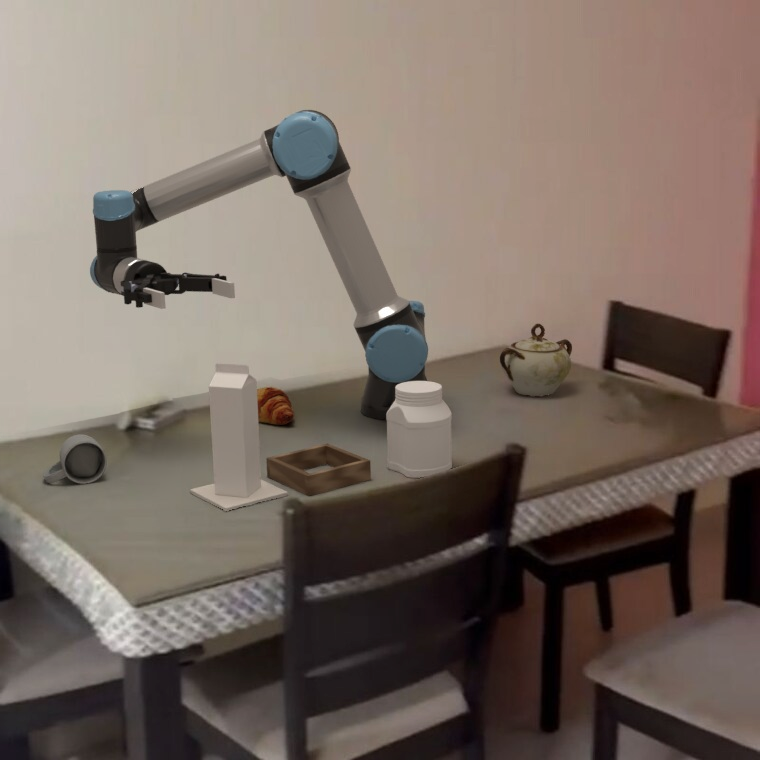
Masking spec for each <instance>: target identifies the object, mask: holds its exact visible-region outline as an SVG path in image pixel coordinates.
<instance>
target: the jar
mask: <svg viewBox="0 0 760 760" xmlns="http://www.w3.org/2000/svg"><path fill="white" fill-rule="evenodd" d="M395 394H396V395H395V397H396V398H395V401H394V402H393V404H392V405H391V407H390V408H389V410H388V411H387V413H386V438H387V440H386V443H387V451H386V452H387V460H386V464H387V465H386V468H387V470H390V471H394V472H398V473H400V474H402V475H403V476H405V477H406V478H409V479H421V478H420V477H424V476H429V475H432V474H435V473H439V472H442V471H445V470H448V469H450V468H453V460H452V419H453V413H452V410H451V409H450V408H449V405H448V404H447V403H446V402H445V401H444V400H443V386H442V384H441V383H438V382H434V381H428V380H427V381H409V382H404V383H400V384H398V385H396V387H395Z"/></svg>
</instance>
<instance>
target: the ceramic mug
mask: <svg viewBox="0 0 760 760" xmlns="http://www.w3.org/2000/svg"><path fill="white" fill-rule="evenodd" d="M107 459H108V458H107V454H106V452H105V449H104V448H103V446H101V444H99V442H98V441H97V439H95V438H94V437H92V436H89V435H87V434H74V435H72V436H70V437H68V438H67V439H65V441H64V442H63V443H62V445H61V446H60V450H59V461H57V462H55V463H54V464H52V465H50V466H49V467H48V468H46V470H45V471H44V472H43V474H42V475H43V478H44V480H45V482H46V483H47V484H53V483H57V482H58V481H61V480H62V479H65V478H68V480H70V481H71V482H73V483H76V484H81V485H86V483H88V484H91V483H94V482H96V481H97V480H99V479H100V478H101V477H102V476H103V475H104V473H105V471H106V469H107V465H108V460H107Z"/></svg>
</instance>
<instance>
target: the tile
mask: <svg viewBox="0 0 760 760" xmlns="http://www.w3.org/2000/svg"><path fill="white" fill-rule="evenodd" d="M189 493H190V494H191V495H193V496H195V497H197V498H199V499H201V500H203V501H205V502H207V503H209V502H210V503H211V505H212V504H213V506H214V505H215V507H216V506H217V507H216V508H218V507H219V508H218V509H220V508H221V509H220V510H222V509H223V510H222V511H224V512H226V511H227V512H230V511H229V510H231V511H233V510H232V509H235V508H238V507H242V506H245V505H248V504H254V503H257V502H261V503H263V502H262V501H265V502H267V501H266V500H269V501H271V499H273V500H276V498H277V499H280V498H284V497H287V496H289V492H288V491H286V490H285V489H282V488H280V487H278V486H276V485H273V484H271V483H270V482H268V481H265V480H263V479H261V487H260V488H259V489H257V490H256V491H255V492H254V493H252V494H251V495H250V496H248V497H247V498H244V497H234V496H224V495H215V488H214V483H211V484H206V485H203V486H202V485H201V486H198V487H194V488H190V489H189ZM210 503H209V504H210ZM254 505H255V504H254ZM242 508H243V507H242ZM235 510H236V509H235Z"/></svg>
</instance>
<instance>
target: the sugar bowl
mask: <svg viewBox="0 0 760 760" xmlns="http://www.w3.org/2000/svg"><path fill="white" fill-rule="evenodd" d="M538 328H539V329H540V333H539V334H537V333H536V330H537V329H538ZM545 329H546V328H545V327H544V325H543V324H542V323H535V324H534V325H533V326H532V328H531V330H530V334H531V336H530V337H529V338H525V339H521V340H519V341H515V342H513V343H511V345H509V347H505V349H503V350H502V351H501V353H500V356H499V362H500V365H501V368H502V371H503V373H504V374H505V376H506V378H507V379H508V381H509V382H510V384H511V386H512V387H513V389H514V391H515V392H516V393H517V394H520V395H521V396H522V395H523V396H526V395H530V396H529V397H535V396H540V397H544V396H543V395H548V394H551V395H553V394H554V393H555V392H556V390H557V389H559V387H560V386H561V384H562V383H563V382H564V381H565V380H566V378H567V376H568V375H569V373H570V371H571V369H572V360H571V355H572V351H573V344H572V342H571V341H570V340H568V339H567V338H566V339H565V338H564V339H561V340H559V341H556V342H555V341H553V340H550V339H548V338H544V337H545V334H546V330H545ZM552 393H553V394H552ZM541 395H542V396H541ZM548 396H549V395H548Z"/></svg>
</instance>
